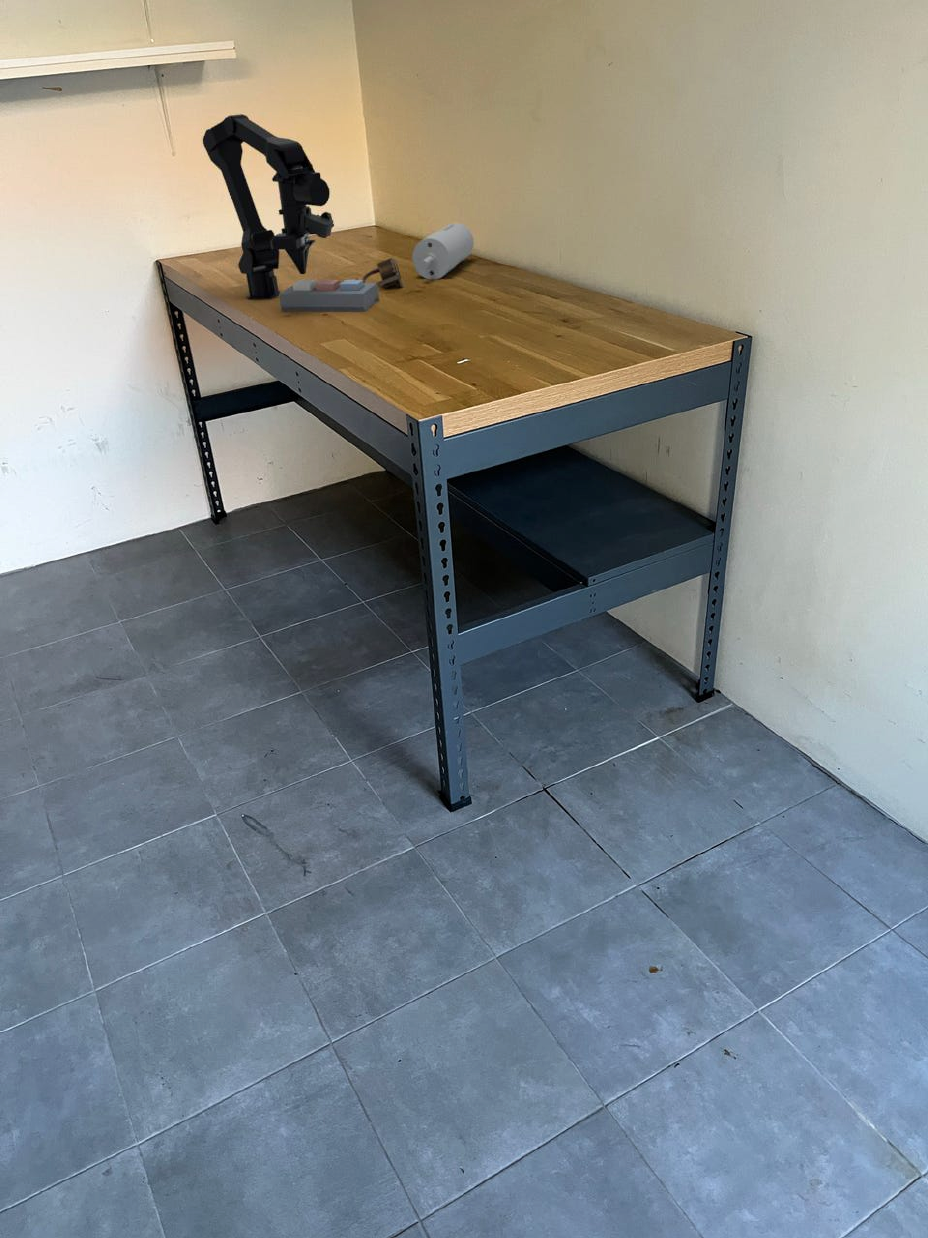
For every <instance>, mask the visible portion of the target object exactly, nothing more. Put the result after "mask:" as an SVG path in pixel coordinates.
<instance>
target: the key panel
mask: <svg viewBox="0 0 928 1238" xmlns="http://www.w3.org/2000/svg"><path fill="white" fill-rule="evenodd" d="M341 283H342V282H340V284H341ZM377 283H378V282H365V283H364V288H362V289H361V290H359V291H341V290H340V288H338V289H337V290H336V291H317V288H315V289H313V290H312V291H293V285H292V286H289V287H288V288H287V289H285V290H283V291H282V292H280V293H279V294H278V296H279V302H280V308H281V312H364V313H365V312H366V311H367V310H369V309H370V308H371V307H372V306H373V305H375V304H376V303H377V302H378V301H380V297H379V286H378V285H377Z"/></svg>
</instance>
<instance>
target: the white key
mask: <svg viewBox="0 0 928 1238" xmlns="http://www.w3.org/2000/svg"><path fill="white" fill-rule="evenodd" d="M317 283H318V282H317V279H298V280H297V281H296V282H294V283H292V286H293V291H312V290H313V289H315V288H316V284H317Z"/></svg>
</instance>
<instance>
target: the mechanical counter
mask: <svg viewBox="0 0 928 1238" xmlns="http://www.w3.org/2000/svg"><path fill="white" fill-rule="evenodd" d="M376 267H377V268H376V269H373V270H370V271H369V272H367V273H365V275H364V276H363V277H362V279H361V280H363V282H364V283H366V281H367V279H368V278H369V277H371V276H372V275H375V274H378V273H379V274H380V278H381V281H378V282H376V283H377V285H378V287H381V286H383V287H384V288H385V289H389V288H391V287H393V286H395V285H396V286H397V285H398V284H399V286H400V288H404V285H403V282H402V277H401V273H400V269H399V267H398V264H397V262H396V259H395V258H393V257H390V258H388V259H385V260H383V261H381V262H378V263H376ZM354 280H360V279H359V278H355V279H354Z"/></svg>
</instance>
